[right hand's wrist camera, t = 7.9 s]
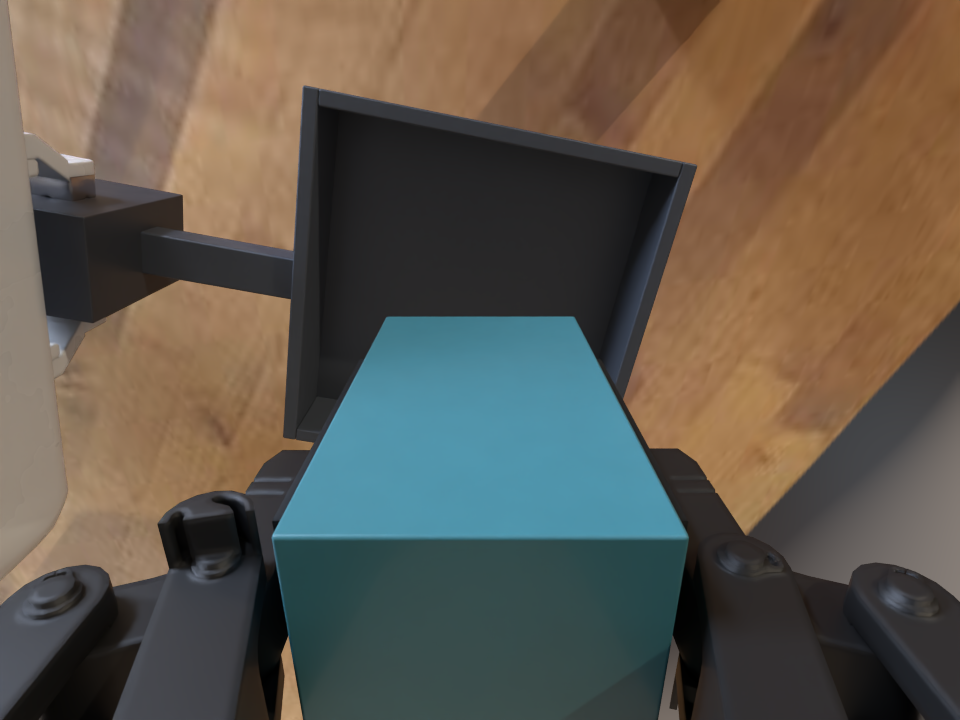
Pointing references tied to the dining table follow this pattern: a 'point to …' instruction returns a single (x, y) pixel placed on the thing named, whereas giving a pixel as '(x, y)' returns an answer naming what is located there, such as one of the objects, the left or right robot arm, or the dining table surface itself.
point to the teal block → (480, 536)
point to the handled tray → (396, 239)
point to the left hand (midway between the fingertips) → (83, 241)
